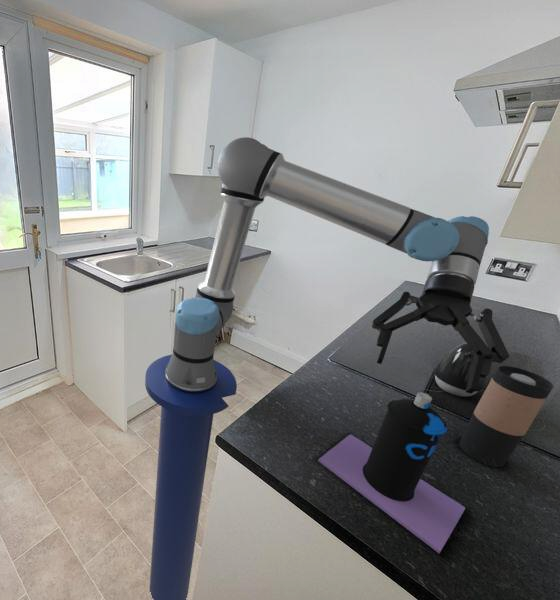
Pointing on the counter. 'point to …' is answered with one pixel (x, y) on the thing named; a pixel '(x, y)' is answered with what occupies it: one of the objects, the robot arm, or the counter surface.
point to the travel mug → (504, 414)
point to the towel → (411, 514)
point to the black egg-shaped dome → (457, 371)
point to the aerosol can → (404, 447)
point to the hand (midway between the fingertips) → (422, 375)
